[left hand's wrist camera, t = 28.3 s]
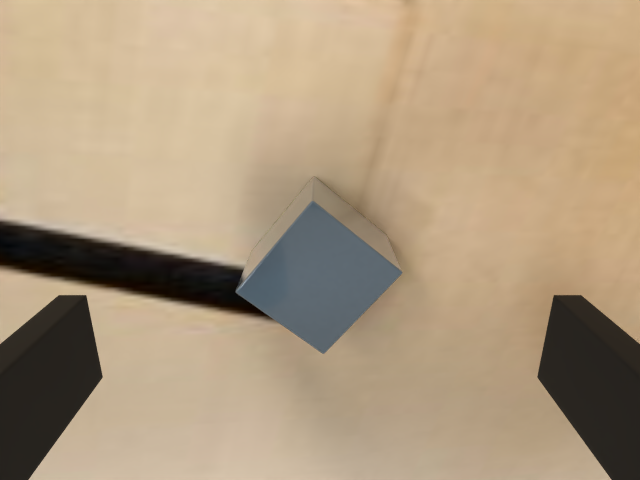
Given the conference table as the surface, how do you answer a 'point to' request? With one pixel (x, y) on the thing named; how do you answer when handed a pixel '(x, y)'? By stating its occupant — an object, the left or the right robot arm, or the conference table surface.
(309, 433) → the conference table surface
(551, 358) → the left robot arm
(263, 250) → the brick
